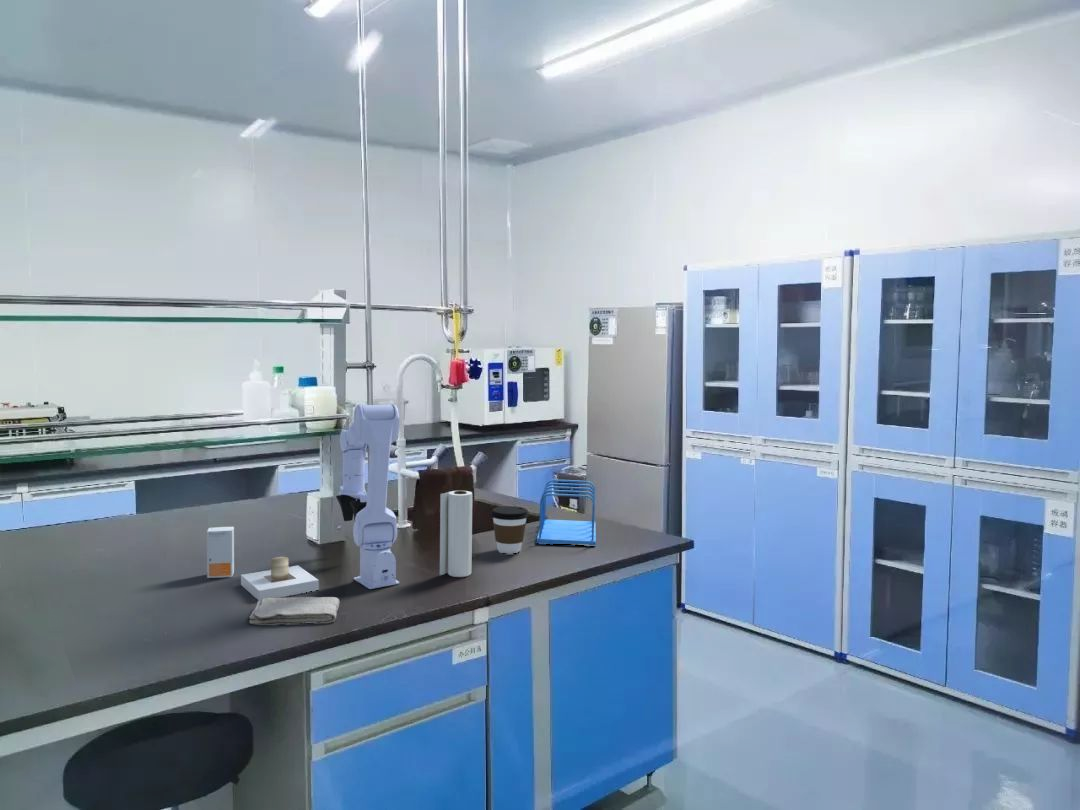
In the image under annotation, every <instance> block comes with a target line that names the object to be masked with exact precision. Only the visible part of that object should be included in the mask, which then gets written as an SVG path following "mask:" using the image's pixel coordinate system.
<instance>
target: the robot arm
mask: <svg viewBox="0 0 1080 810" xmlns="http://www.w3.org/2000/svg"><path fill="white" fill-rule="evenodd" d="M399 412H400V411H399V409H398V406H397V405H396V404H395V403H391V404H363V405H362V404H357V405H356V406H355V408H354V411H353V422H351V424H350V426H349V428H348V429H347V430H346V429H341V431H340V436H339V446H340V450H341V452H342V485H340V486H339V491H338V495H336V498H335V499H337V502H338V504H339V507H340V510H341V513H342V518H343V522H350V521H353V520H354V523H353V526H352V535H353V541H354V544H355V545H356V546H357V547H359V552H360V553H359V557H360V558H359V569H360V570H359V576H356V577H353V580H355V581H356V582H357V583H359V584H361V585H363V586H364V587H365V588H367V589H369V590H372V589H378V588H379V589H380V588H383V587H390V586H395V585H399V584H400V581H399V580H397V559H396V557H395V554H394V553H393V552H392V550H391V547H393V544H394V543H395V542H396V540H397V538H398V526H397V524H398V523H397V517H396V514H395V513H394V511H393V510H391V509H389V508H388V507H387V498H388V497H387V496H388V484H389V483H388V481H389V470H390V469H389V468H390V455H391V454H390V453H391V448H392V444H393V443H395V442H396V441H397V440H398V437H399V431H400V413H399ZM368 447H369V454H368V455H369V458H368V459H369V460H368V473H367V487H366V488H367V489H366V488H365V482H366V481H365V477H366V476H365V474H366V473H365V469H366V467H365V466H366V464H365V458H367V449H368ZM366 490H367V491H366Z"/></svg>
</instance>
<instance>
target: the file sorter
mask: <svg viewBox="0 0 1080 810" xmlns="http://www.w3.org/2000/svg"><path fill="white" fill-rule="evenodd" d="M559 482H561V483H559ZM564 482H565V483H564ZM574 486H575V487H574ZM560 489H561V490H560ZM568 489H569V490H568ZM595 489H596V487H595V485H594V483H593V482H591V481H589V480H574V479H573V480H572V479H550V480H548V481H547V482H546V483H545V487H544V489H543V492H542V495H541V497H540V502H539V524H538V525H539V529H538V532H537V536H536V544H537V543H547V544H550V545H553V544H589V545H596V546H597V543H596V542H597V537H596V536H597V534H596V521H595V513H596V512H595V509H596V508H595V507H596V504H595V502H596V501H595V499H596V498H595V497H596V495H595V493H596V490H595ZM583 490H584V491H583ZM568 493H569V494H568ZM571 493H572V494H571ZM573 493H574V494H573ZM584 494H585V495H584ZM548 496H549V497H550V496H552V497H553V496H554V497H557V496H558V497H574V498H575V497H577V498H588V499H590V500H591V501H592V502H591V503H592V509H591V510H592V511H591V521H585V520H567V519H566V520H565V519H547V518H546V515H547V497H548Z"/></svg>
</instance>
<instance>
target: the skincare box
mask: <svg viewBox="0 0 1080 810" xmlns="http://www.w3.org/2000/svg"><path fill="white" fill-rule="evenodd" d="M234 573H235V526H217V527H216V526H215V527H208V529H207V530H206V578H207V579H211V578H212V579H215V578H216V579H217V578H219V579H221V578H233V575H234Z"/></svg>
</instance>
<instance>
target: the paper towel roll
mask: <svg viewBox="0 0 1080 810" xmlns="http://www.w3.org/2000/svg"><path fill="white" fill-rule="evenodd" d="M439 500H440V507H439V508H440V509H439V512H440V514H439V515H440V517H439V519H440V520H439V521H440V522H439V523H440V524H439V527H440V528H439V530H440V531H439V576H442V575H445V574H447V575H449V576H451V577H454V578H464V577H468V576H470V575H471V574H472V563H473V562H472V557H473V556H472V555H473V554H472V553H473V551H472V550H473V548H472V547H473V545H472V544H473V542H472V541H473V539H472V538H473V492H472V491H469V490H468V491H467V490H452V491H448V492H447V491H446V492H445V493H440V499H439Z"/></svg>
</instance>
